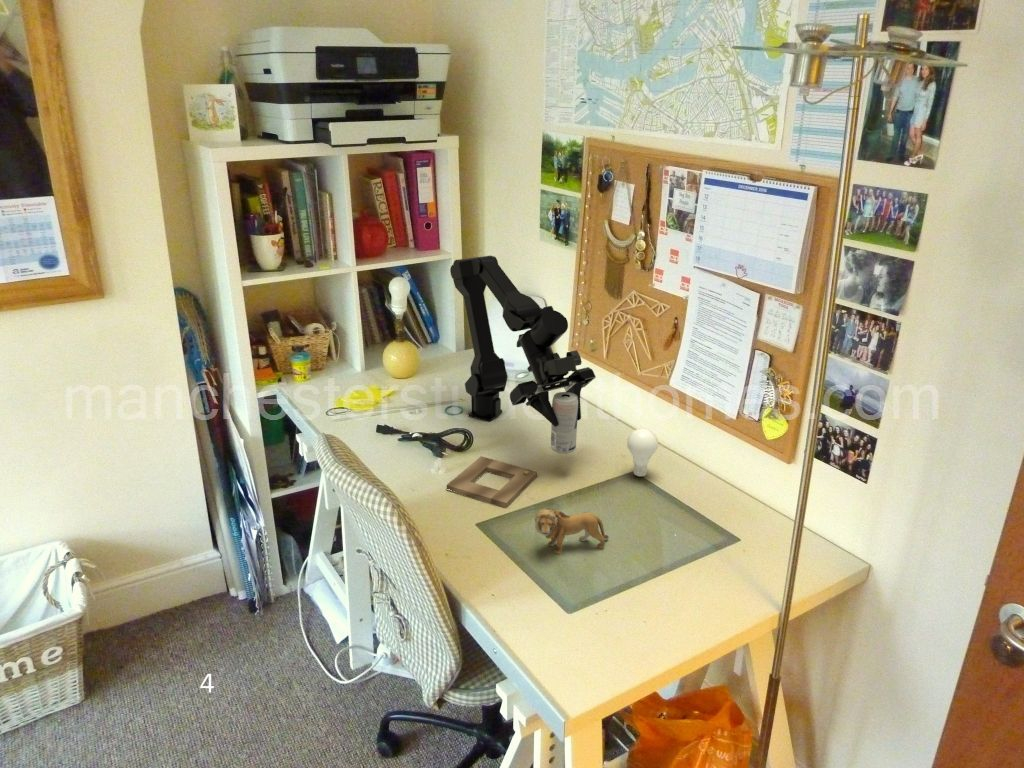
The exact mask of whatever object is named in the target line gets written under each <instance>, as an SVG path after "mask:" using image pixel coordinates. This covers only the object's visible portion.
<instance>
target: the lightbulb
mask: <svg viewBox="0 0 1024 768" xmlns="http://www.w3.org/2000/svg"><path fill="white" fill-rule="evenodd" d="M658 446H659V442H658V438H657V436H656V434H655V433H654V432H653V431H652V430H650V429H647V428H643V427H641V428H637V429H634V430H633V431H632V432H631V433H629V435H628V438H627V449H628V451H629V453H630V454H631V456H632V460H633V463H634V466H633V474H634V476H637V477H639V478H641V477H645V476H646V475H647V470H648V464H649V462H650V459H651V458H652V457H653V455H654V454H656V451H657V450H658Z"/></svg>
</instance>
